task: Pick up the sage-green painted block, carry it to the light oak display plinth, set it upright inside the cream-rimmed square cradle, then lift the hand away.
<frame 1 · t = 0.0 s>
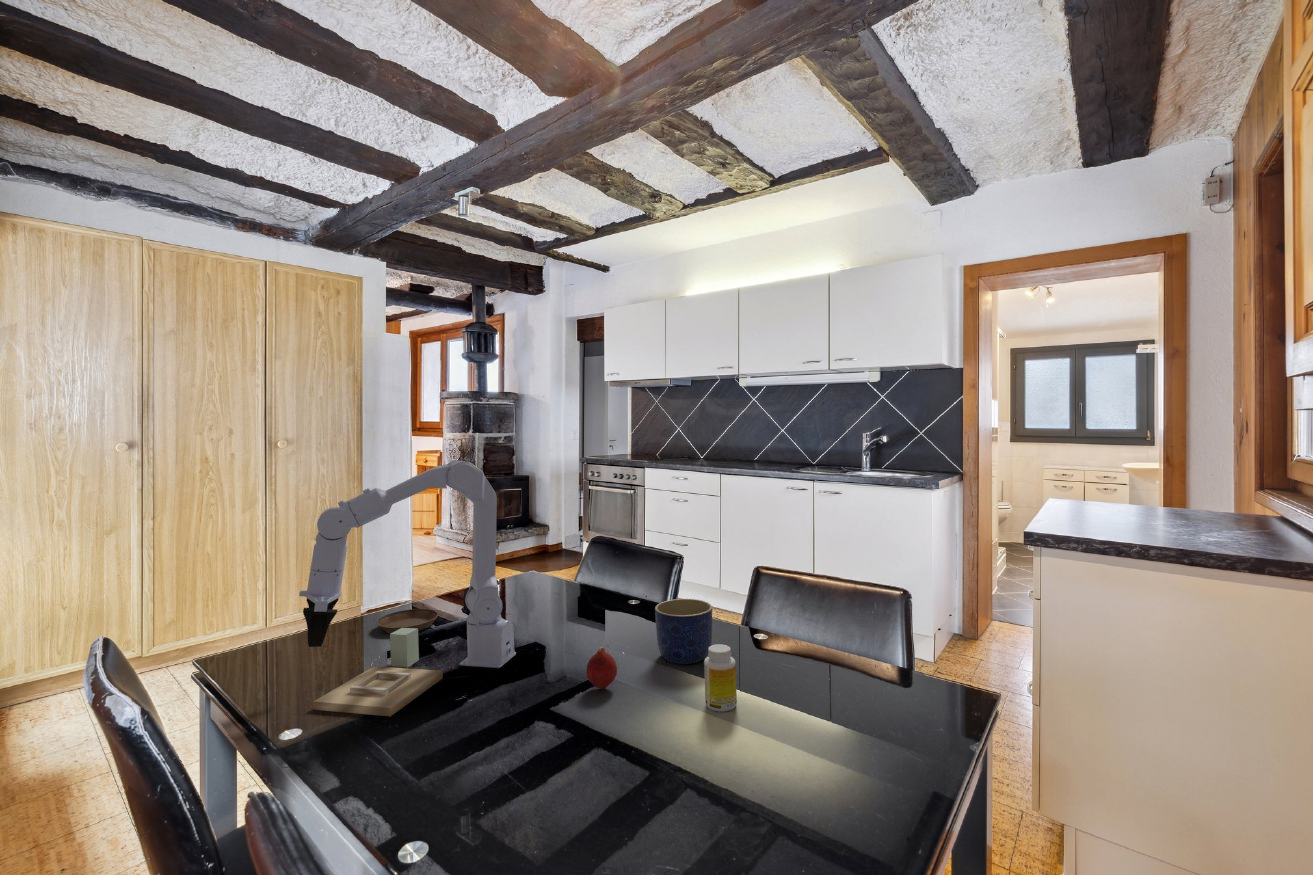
hand: (316, 639, 112), 11 cm above the table, tool pointing down, fingers open, 7 cm apart
planter: (685, 657, 125), on the table
display plinth: (381, 692, 111), on the table
sage block: (405, 663, 126), on the table
saucer: (408, 628, 151), on the table
onion: (602, 690, 110), on the table
supplement bottle: (721, 706, 102), on the table
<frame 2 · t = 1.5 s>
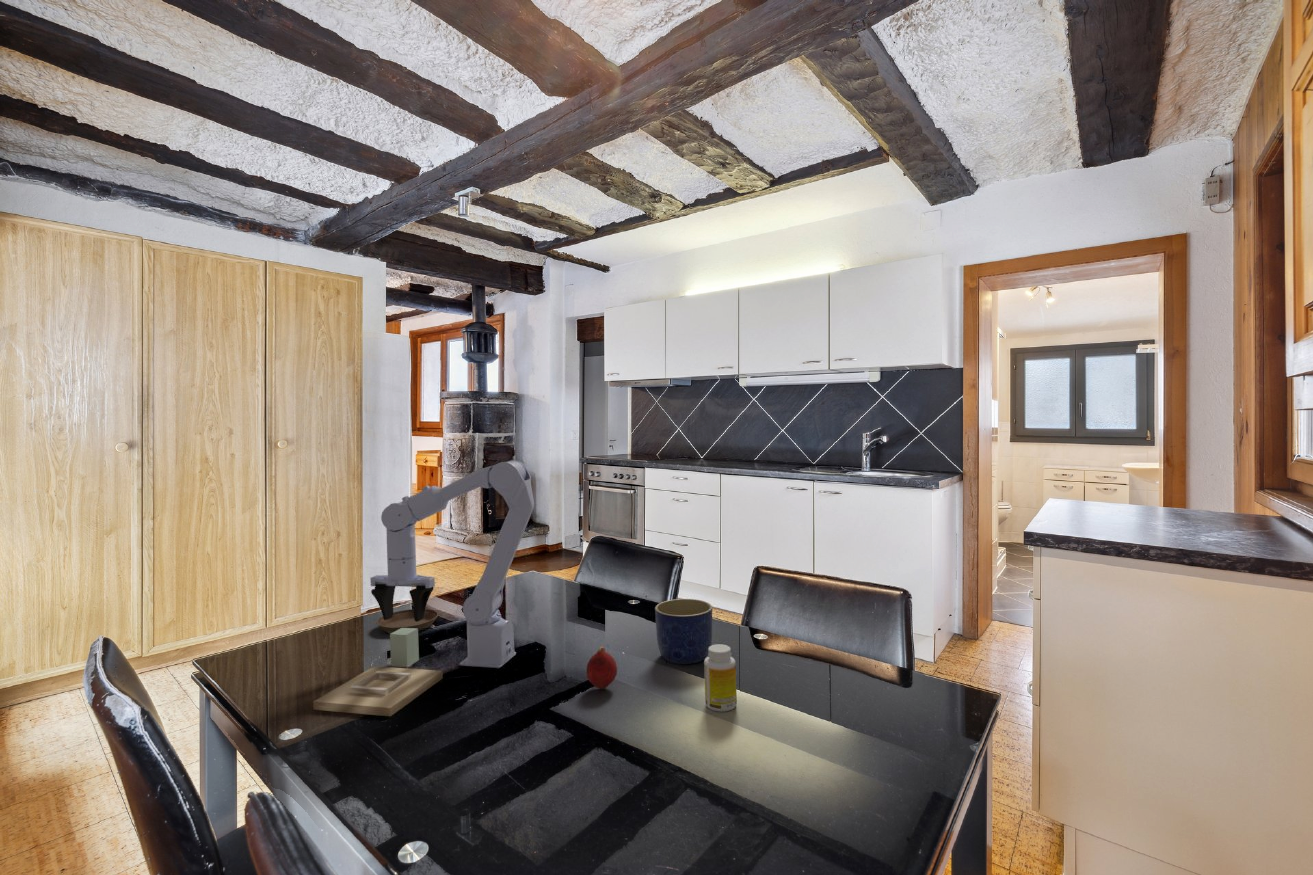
hand: (403, 619, 126), 10 cm above the table, tool pointing down, fingers open, 7 cm apart
nothing on the table moved.
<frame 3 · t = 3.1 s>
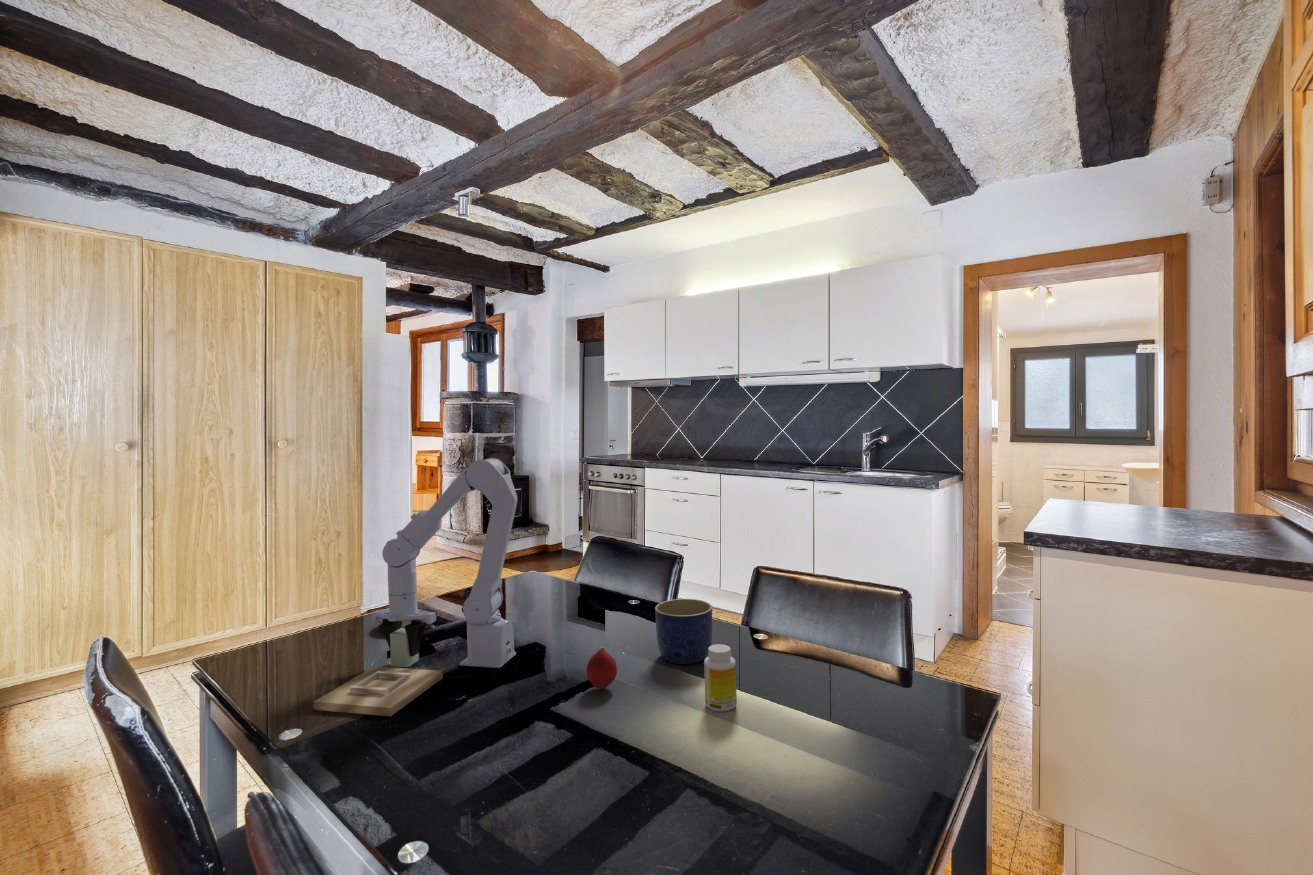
hand: (404, 654, 126), 2 cm above the table, tool pointing down, fingers closed on sage block, 4 cm apart
sage block: (405, 662, 126), on the table, touching gripper
everything else where it was.
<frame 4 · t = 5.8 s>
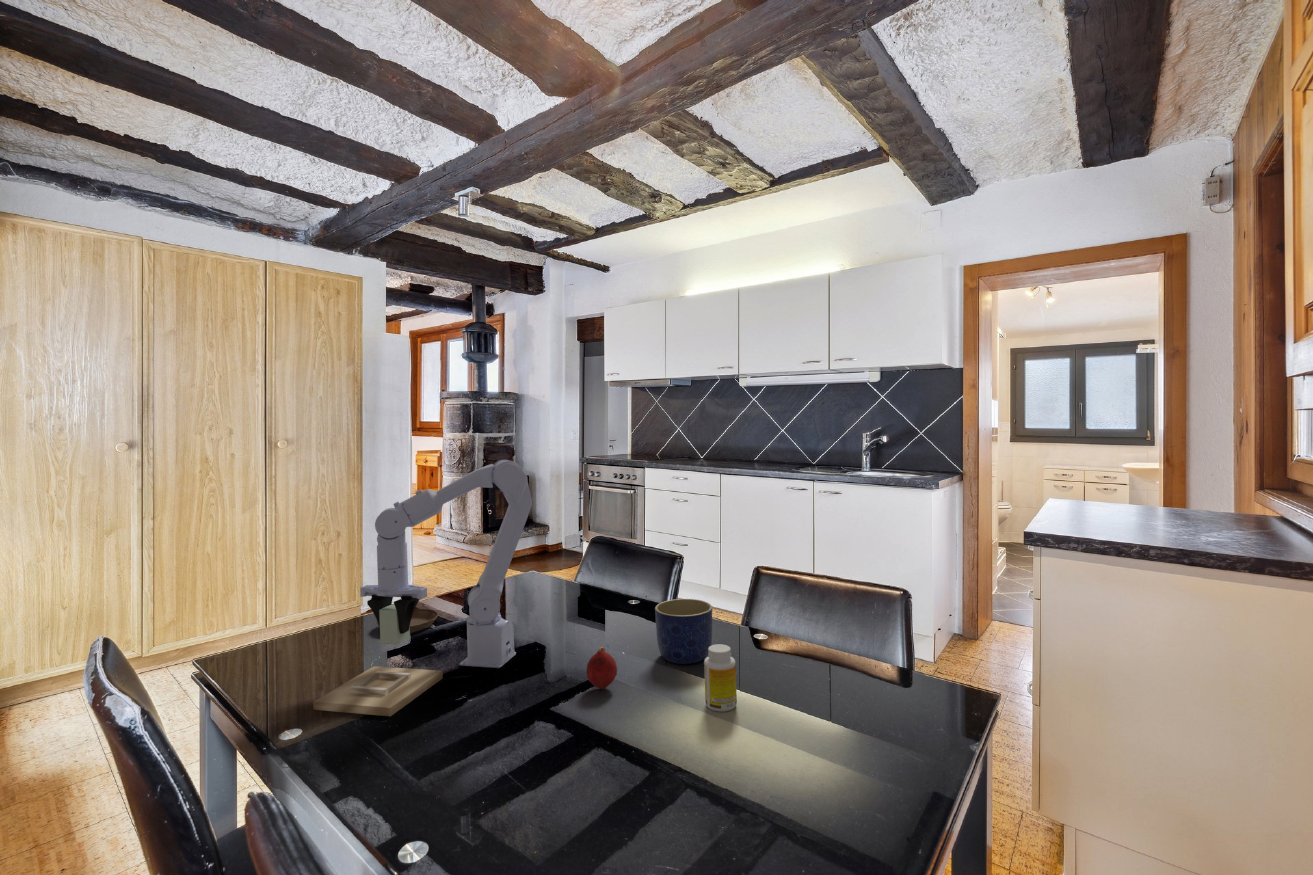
hand: (394, 631, 120), 9 cm above the table, tool pointing down, fingers closed on sage block, 4 cm apart
sage block: (395, 640, 120), point 7 cm above the table, touching gripper
everything else where it was.
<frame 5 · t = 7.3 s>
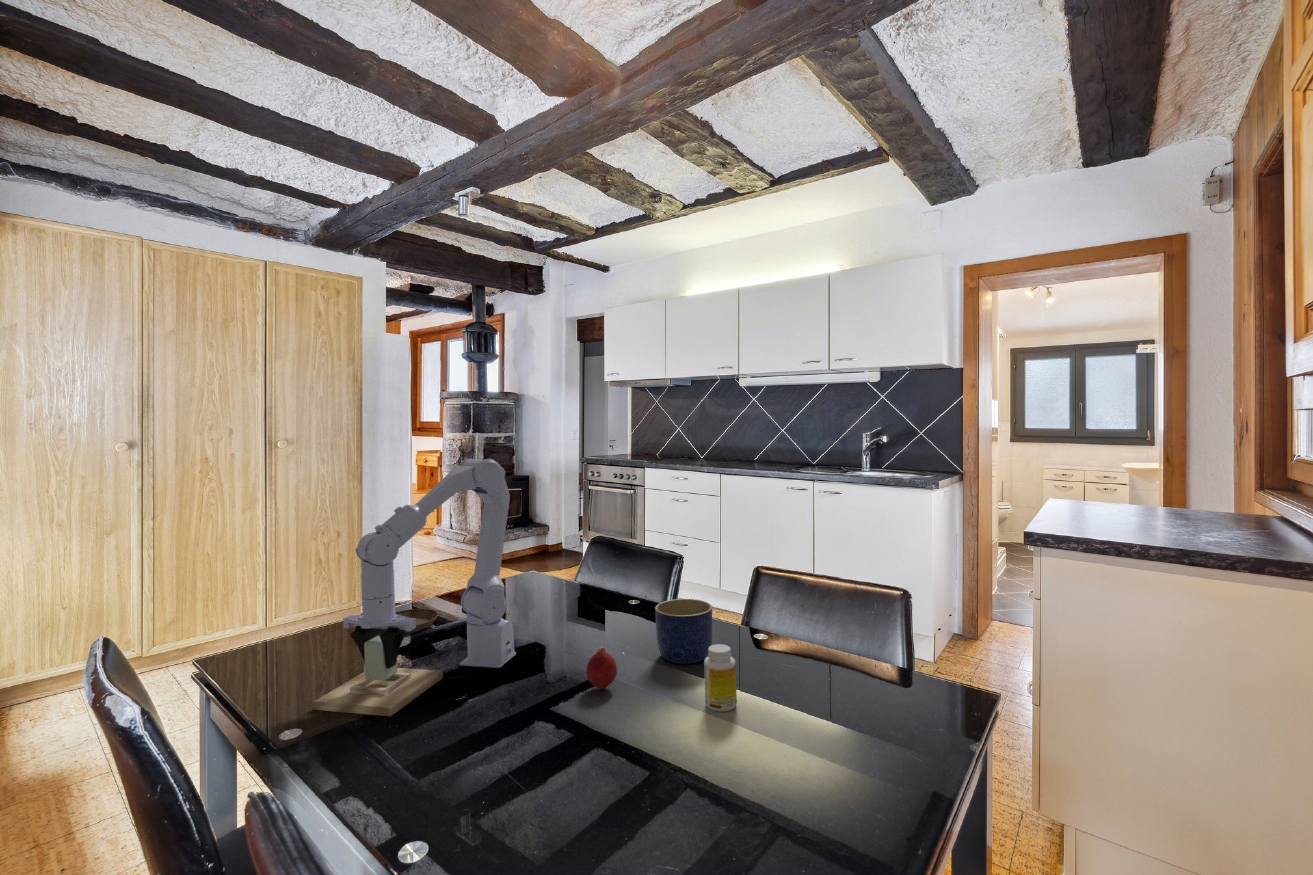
hand: (380, 665, 111), 5 cm above the table, tool pointing down, fingers closed on sage block, 4 cm apart
sage block: (381, 675, 111), point 3 cm above the table, touching gripper
everything else where it was.
when the fingers open (5 cm above the table, at t = 8.5 s): sage block drops 1 cm, resting on display plinth.
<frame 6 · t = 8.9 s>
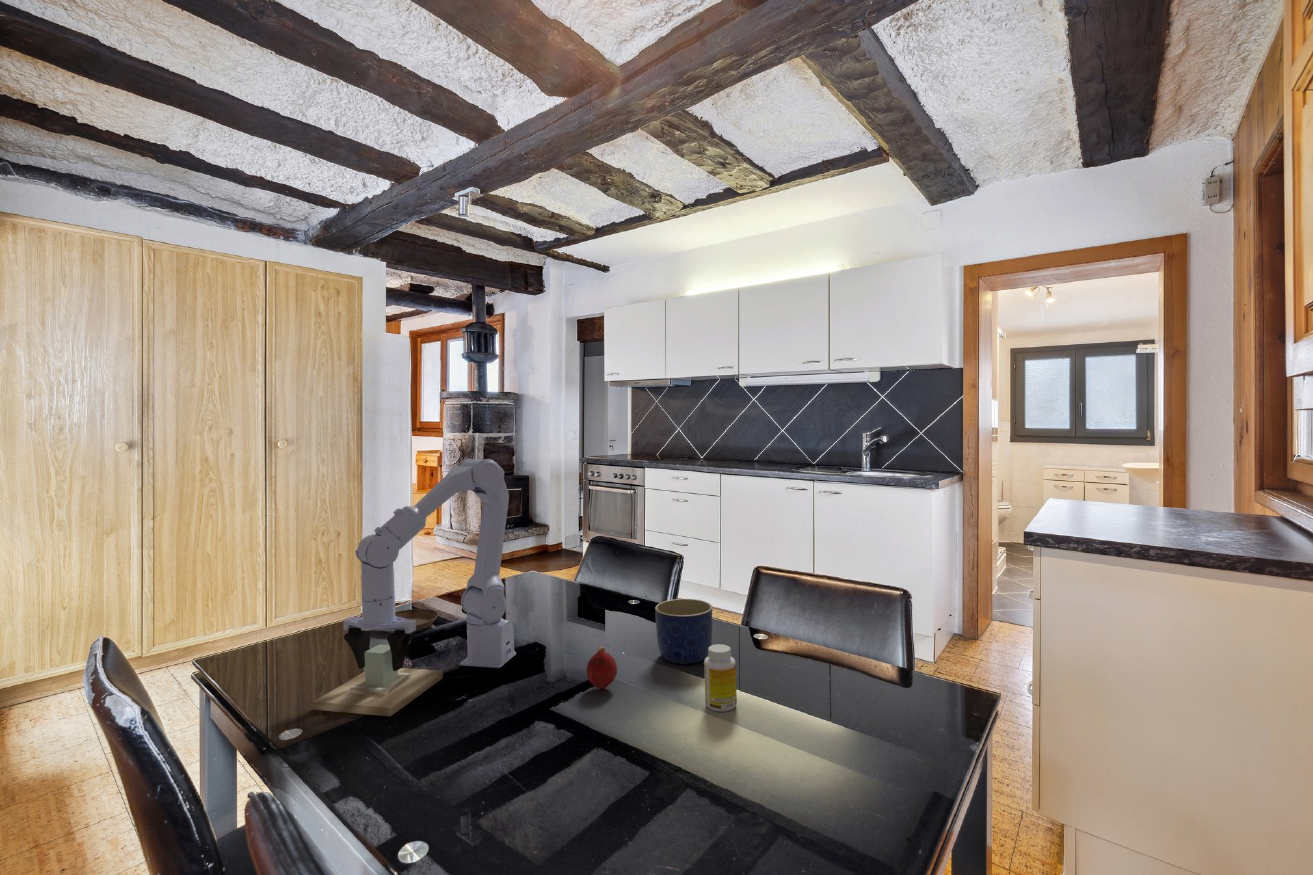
hand: (380, 667, 111), 5 cm above the table, tool pointing down, fingers open, 7 cm apart
sage block: (382, 684, 112), point 1 cm above the table, touching display plinth
everything else where it was.
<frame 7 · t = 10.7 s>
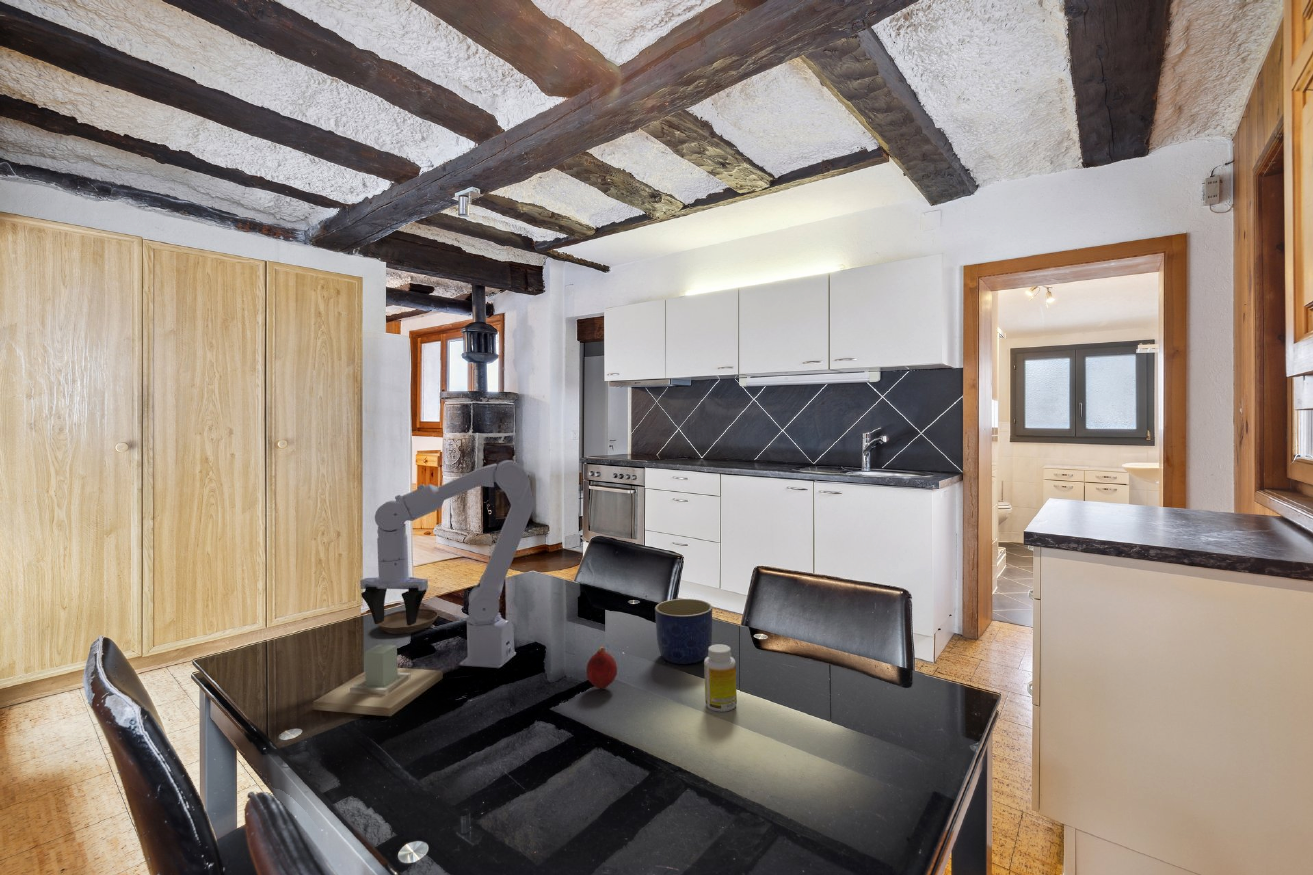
hand: (395, 623, 121), 10 cm above the table, tool pointing down, fingers open, 7 cm apart
nothing on the table moved.
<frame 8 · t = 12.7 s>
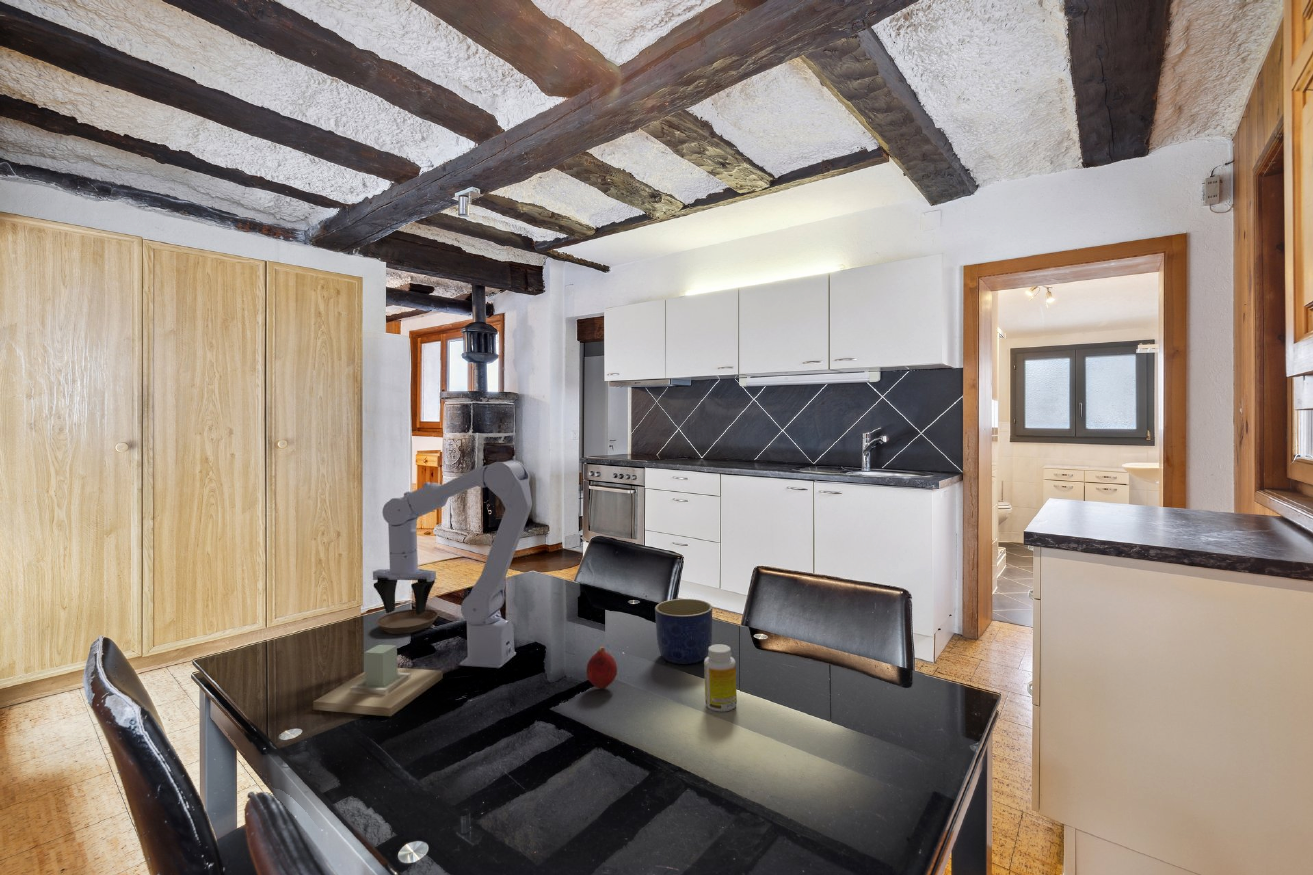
hand: (405, 612, 128), 10 cm above the table, tool pointing down, fingers open, 7 cm apart
nothing on the table moved.
at the end: sage block 0.2 cm off-centre on the display plinth, point 1.5 cm above the display plinth's base; sage block tilted 0°; the gripper is holding nothing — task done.
